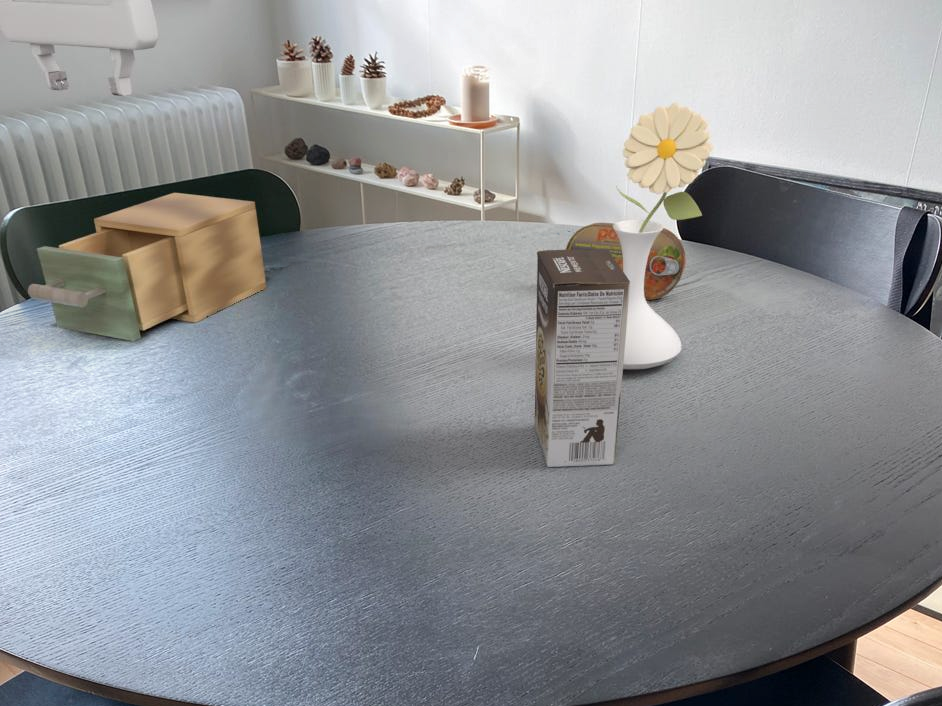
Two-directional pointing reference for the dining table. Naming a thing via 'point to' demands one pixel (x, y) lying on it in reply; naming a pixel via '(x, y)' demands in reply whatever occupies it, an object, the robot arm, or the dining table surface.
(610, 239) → the tin
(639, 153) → the flower in vase
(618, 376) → the coffee box
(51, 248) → the drawer
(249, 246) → the cabinet
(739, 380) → the dining table surface
